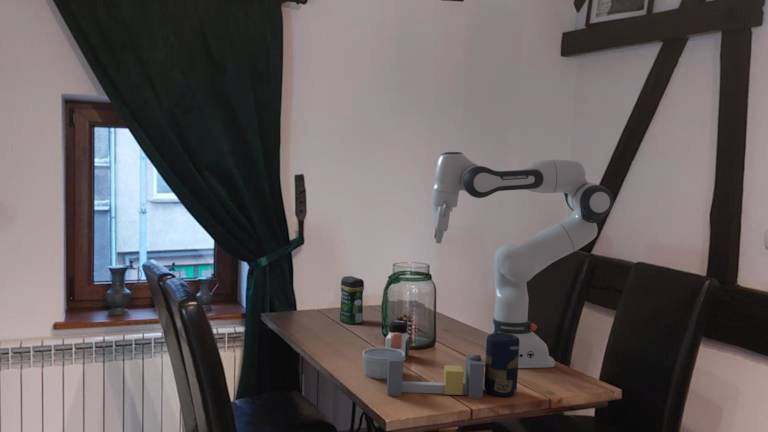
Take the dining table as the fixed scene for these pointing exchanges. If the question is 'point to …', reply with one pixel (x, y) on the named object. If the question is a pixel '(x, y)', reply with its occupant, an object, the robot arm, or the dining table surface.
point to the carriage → (453, 380)
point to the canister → (501, 364)
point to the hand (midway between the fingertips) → (437, 241)
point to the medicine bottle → (402, 328)
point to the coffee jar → (351, 300)
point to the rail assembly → (470, 387)
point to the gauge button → (396, 340)
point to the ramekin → (377, 361)
